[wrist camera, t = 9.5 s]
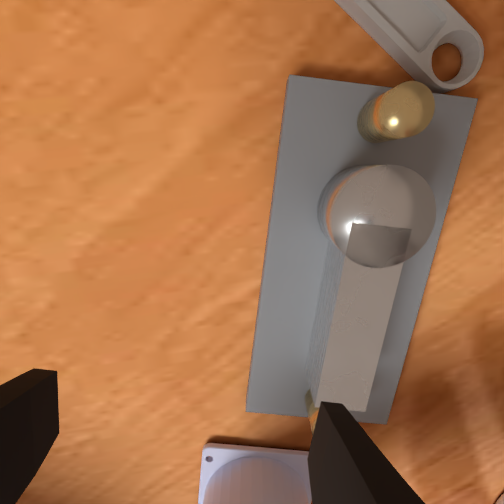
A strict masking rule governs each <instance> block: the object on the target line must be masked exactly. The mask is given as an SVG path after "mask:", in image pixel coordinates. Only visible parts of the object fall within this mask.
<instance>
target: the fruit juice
mask: <svg viewBox="0 0 504 504" xmlns="http://www.w3.org/2000/svg"><path fill="white" fill-rule="evenodd" d="M495 504H504V493H503V494H502V495H501V496H500V498H499V499H498V500H497V502H496V503H495Z"/></svg>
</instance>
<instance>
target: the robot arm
mask: <svg viewBox="0 0 504 504" xmlns="http://www.w3.org/2000/svg"><path fill="white" fill-rule="evenodd" d="M58 434H59V412H58V384H57V371H52V370H43V369H32V370H30V371H28V372H26V373H23V374H21V375H20V376H18V377H16V378H14V379H12V380H10V381H8V382H6V383H4V384H2V385H0V504H15V503H16V502H17V500H18V499H19V497H20V496H21V495H22V493H23V492H24V490H25V489H26V488H27V486H28V485H29V483H30V482H31V480H32V479H33V477H34V476H35V474H36V473H37V471H38V469H39V468H40V466H41V464H42V462H43V461H44V459H45V457H46V456H47V454H48V452H49V450H50V448H51V447H52V445H53V443H54V441H55V439H56V438H57V436H58ZM208 456H211V457H208ZM311 501H312V504H425V503H424V502H423V501H422V500H421V498H420V497H419V496H418V495H417V494H416V493H415V492H414V490H413V489H412V488H411V487H410V486H409V485H408V484H407V482H406V481H405V480H404V479H403V478H402V476H401V475H400V474H399V473H398V472H397V471H396V469H395V468H394V467H393V466H392V465H391V463H390V462H389V461H388V460H387V458H386V457H385V456H384V455H383V454H382V452H381V451H380V450H379V449H378V447H377V446H376V445H375V444H374V442H373V441H372V440H371V439H370V437H369V436H368V435H367V434H366V432H365V431H364V430H363V429H362V427H361V426H360V425H359V423H358V422H357V421H356V420H355V418H354V417H353V416H352V415H351V413H350V412H349V411H348V410H347V408H346V407H345V406H344V405H343V404H342V403H333V402H324V401H321V403H320V407H319V412H318V416H317V420H316V424H315V429H314V433H313V437H312V441H311V446H310V450H309V451H298V450H287V449H275V448H264V447H252V446H241V445H229V444H218V443H207V444H205V445H204V447H203V452H202V463H201V474H200V486H199V497H198V504H311Z"/></svg>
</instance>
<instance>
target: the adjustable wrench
mask: <svg viewBox="0 0 504 504" xmlns="http://www.w3.org/2000/svg"><path fill="white" fill-rule="evenodd" d="M334 1H335V2H336V3H337V4H338V5H339V6H340V7H341V8H342V9H343V10H344V11H345V12H346V13H347V14H348V15H349V16H350V17H351V18H352V19H353V20H354V21H355V22H356V23H357V24H358V25H360V26H361V27H362V28H363V29H364V30H365V31H366V32H367V33H368V34H369V35H370V36H371V37H372V38H373V39H374V40H375V41H376V42H377V43H378V44H379V45H380V46H381V47H382V48H383V49H384V50H385V51H386V52H387V53H388V54H389V55H390V56H391V57H392V58H393V59H394V60H395V61H396V62H397V63H398V64H399V65H400V66H401V67H402V68H403V69H404V70H405V71H406V72H407V73H408V74H409V75H410V76H411V77H412V78H413V79H414V80H415V81H417V82H421V83H423V84H425V85H426V86H427V87H428V88H429V89H430V90H431V92H432V93H437V94H440V93H446V92H449V91H451V90H454V89H457V88H459V87H461V86H463V85H465V84H467V83H468V82H469V81H470V80H472V79H473V78H474V77H475V75H476V74H477V72H478V71H479V69H480V67H481V64H482V61H483V57H484V46H483V42H482V39H481V37H480V36H479V34H478V33H477V31H476V30H475V29H474V28H473V27H472V26H471V25H470V24H469V23H468V22H467V21H466V20H465V19H464V18H463V17H462V16H461V15H460V14H459V13H458V12H457V11H456V10H455V9H454V8H453V7H452V6H451V5H450V4H449V3H448V2H447V1H446V0H334ZM445 43H451V44H453V45H454V46H456V47H457V48H458V50H459V51H460V54H461V58H462V62H461V68H460V71H459V73H458V75H457V76H455V77H454V78H453V79H451V80H449V81H445V82H442V81H440V80H439V79H438V78H437V77H436V76H435V74H434V72H433V69H432V54H433V52H434V50H435V49H436V48H437V47H438V46H440V45H442V44H445Z"/></svg>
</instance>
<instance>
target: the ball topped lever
mask: <svg viewBox="0 0 504 504" xmlns="http://www.w3.org/2000/svg"><path fill="white" fill-rule="evenodd" d="M317 218H318V223H319V226H320V228H321V230H322V232H323V234H324V235H325V236H326V238H327V239H328V240H329V241H328V246H327V251H326V257H325V262H324V268H323V273H322V279H321V284H320V290H319V295H318V300H317V306H316V311H315V317H314V322H313V328H312V333H311V339H310V344H309V349H308V355H307V360H306V366H305V372H306V376H307V380H308V383H309V387H310V391H311V395H312V398H313V402H314V406H315V407H318V408H319V407H320V403H321V401H324V402H333V403H342V404H343V405H344V406H345V407H346V408H347V410H351V411H361V412H365V411H366V407H367V403H368V399H369V396H370V392H371V388H372V384H373V380H374V376H375V372H376V368H377V364H378V360H379V356H380V352H381V349H382V345H383V341H384V337H385V333H386V329H387V325H388V321H389V317H390V313H391V309H392V305H393V302H394V298H395V294H396V290H397V286H398V282H399V278H400V274H401V270H402V266H403V262H404V261H406V260H408V259H409V258H411V257H412V256H413V255H415V254H416V253H417V252H418V251H419V250H420V249H421V248H422V247H423V246H424V244H425V243H426V241H427V240H428V238H429V237H430V235H431V232H432V230H433V227H434V224H435V219H436V202H435V197H434V194H433V192H432V190H431V188H430V186H429V184H428V183H427V182H426V180H425V179H424V178H423V177H422V176H421V175H419V174H418V173H416V172H415V171H413V170H411V169H409V168H406V167H403V166H399V165H360V166H354V167H350V168H347V169H345V170H343V171H341V172H339V173H338V174H336V175H335V176H334V177H333V178H332V179H331V180H330V181H329V182H328V183H327V184H326V186H325V187H324V189H323V191H322V192H321V195H320V197H319V200H318V205H317Z"/></svg>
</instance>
